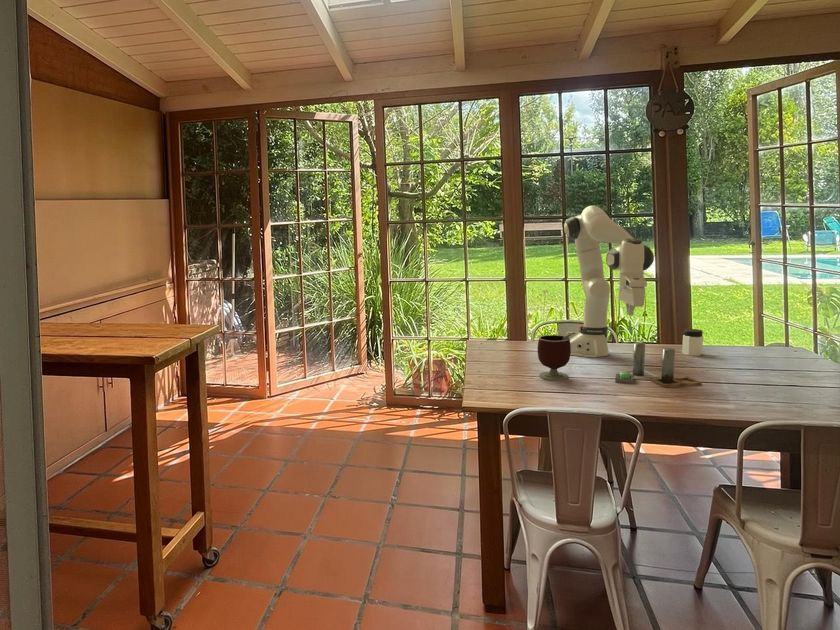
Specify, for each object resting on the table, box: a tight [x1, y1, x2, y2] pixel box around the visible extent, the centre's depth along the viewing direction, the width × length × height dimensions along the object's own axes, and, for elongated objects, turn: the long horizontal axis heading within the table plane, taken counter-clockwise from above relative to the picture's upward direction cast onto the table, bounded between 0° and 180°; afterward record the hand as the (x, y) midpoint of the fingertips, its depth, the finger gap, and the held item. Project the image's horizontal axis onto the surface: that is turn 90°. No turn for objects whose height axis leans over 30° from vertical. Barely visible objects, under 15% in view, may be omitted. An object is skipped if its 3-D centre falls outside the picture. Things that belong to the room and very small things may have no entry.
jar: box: [681, 328, 704, 357], centre depth 262 cm, size 9×8×12 cm
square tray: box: [619, 369, 659, 380], centre depth 226 cm, size 11×11×2 cm
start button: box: [619, 371, 631, 378], centre depth 217 cm, size 4×4×4 cm
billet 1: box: [632, 341, 646, 377], centre depth 225 cm, size 4×4×14 cm
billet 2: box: [660, 347, 676, 384], centre depth 211 cm, size 4×4×14 cm
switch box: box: [614, 373, 635, 385], centre depth 217 cm, size 7×7×3 cm
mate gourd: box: [537, 331, 576, 382], centre depth 229 cm, size 16×14×20 cm
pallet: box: [650, 375, 703, 389], centre depth 212 cm, size 16×9×2 cm, turn 97°
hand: (630, 314), depth 213 cm, fingers closed
